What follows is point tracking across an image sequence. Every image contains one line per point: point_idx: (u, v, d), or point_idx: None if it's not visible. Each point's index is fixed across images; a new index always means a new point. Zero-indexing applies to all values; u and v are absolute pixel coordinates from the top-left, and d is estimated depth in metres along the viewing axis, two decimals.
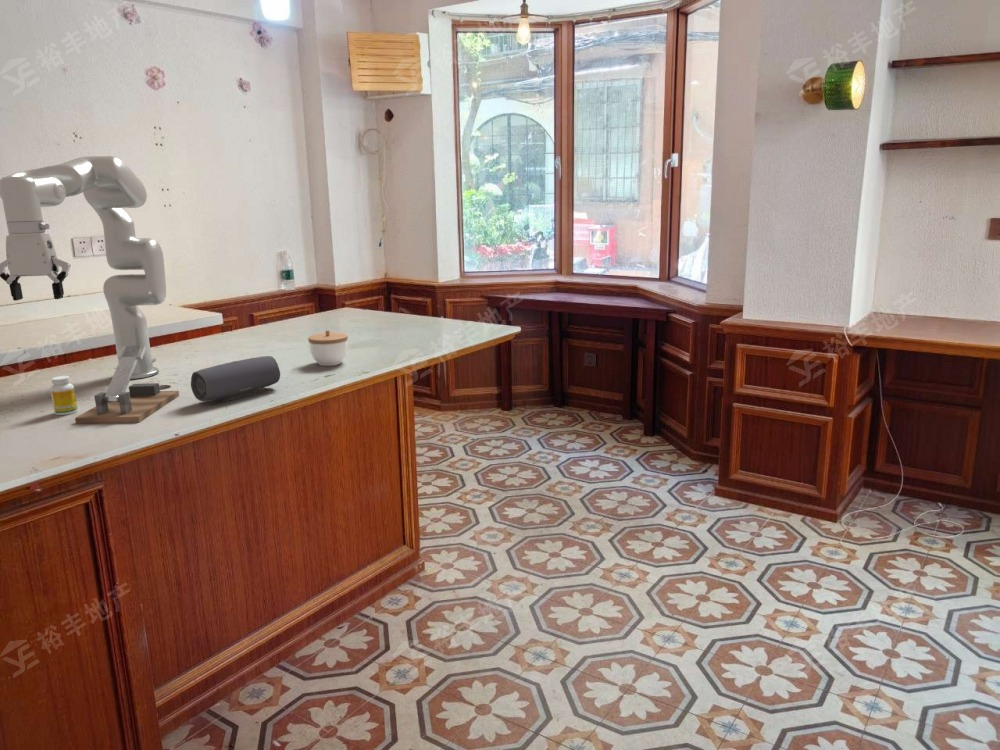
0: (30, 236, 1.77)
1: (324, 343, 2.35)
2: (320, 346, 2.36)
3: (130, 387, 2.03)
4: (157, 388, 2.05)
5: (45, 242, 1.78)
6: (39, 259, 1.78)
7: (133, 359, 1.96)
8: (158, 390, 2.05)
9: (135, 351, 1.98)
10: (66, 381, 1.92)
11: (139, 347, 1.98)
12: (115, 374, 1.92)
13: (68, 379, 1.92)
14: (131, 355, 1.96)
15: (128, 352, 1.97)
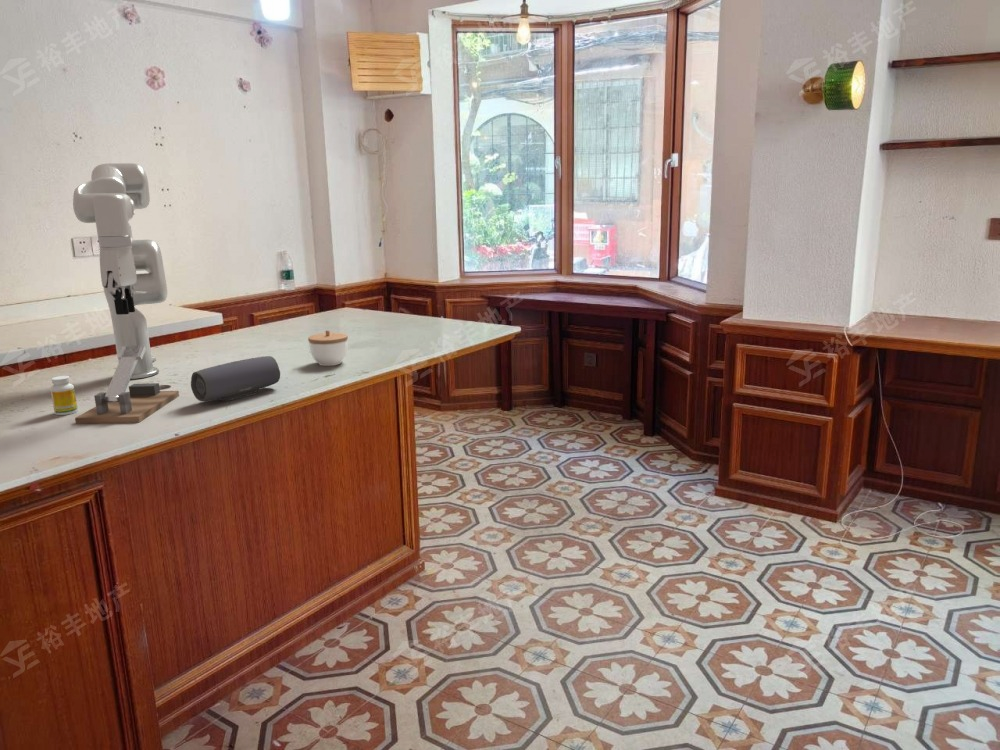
0: (129, 248, 1.93)
1: (324, 343, 2.35)
2: (320, 346, 2.36)
3: (130, 387, 2.03)
4: (157, 388, 2.05)
5: None
6: (133, 269, 1.95)
7: (133, 359, 1.96)
8: (158, 390, 2.05)
9: (135, 351, 1.98)
10: (66, 381, 1.92)
11: (139, 347, 1.98)
12: (115, 374, 1.92)
13: (68, 379, 1.92)
14: (131, 355, 1.96)
15: (128, 352, 1.97)
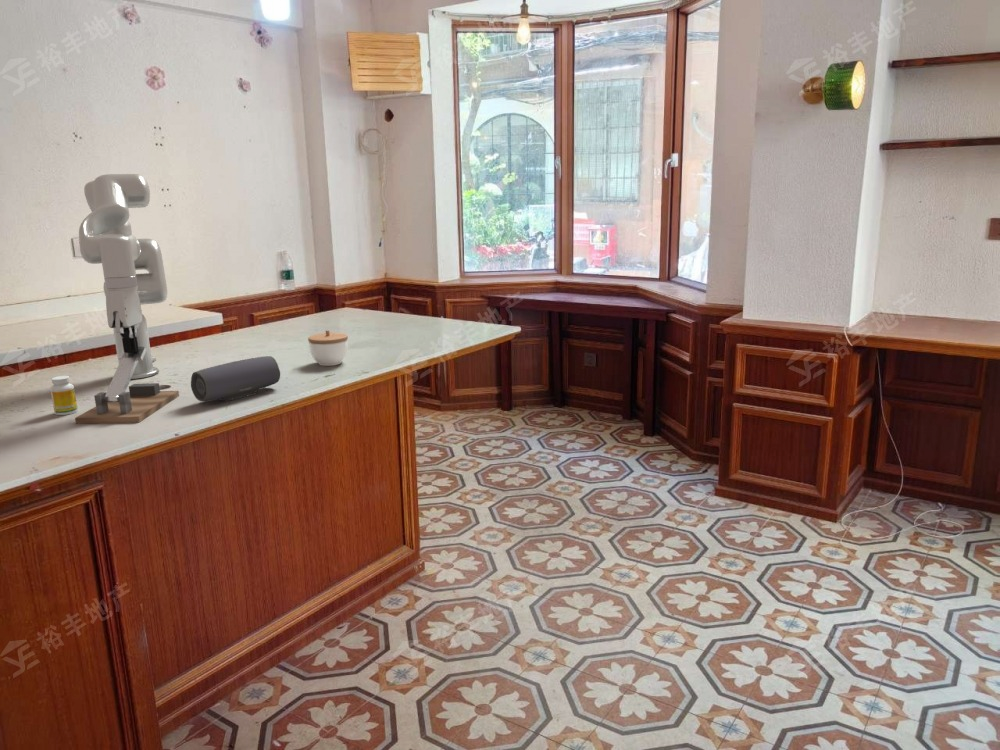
0: (134, 288, 1.95)
1: (324, 343, 2.35)
2: (320, 346, 2.36)
3: (130, 387, 2.03)
4: (157, 388, 2.05)
5: None
6: (139, 308, 1.98)
7: (133, 360, 1.96)
8: (158, 390, 2.05)
9: (135, 352, 1.98)
10: (66, 381, 1.92)
11: (140, 348, 1.99)
12: (115, 374, 1.92)
13: (68, 379, 1.92)
14: (131, 356, 1.97)
15: None
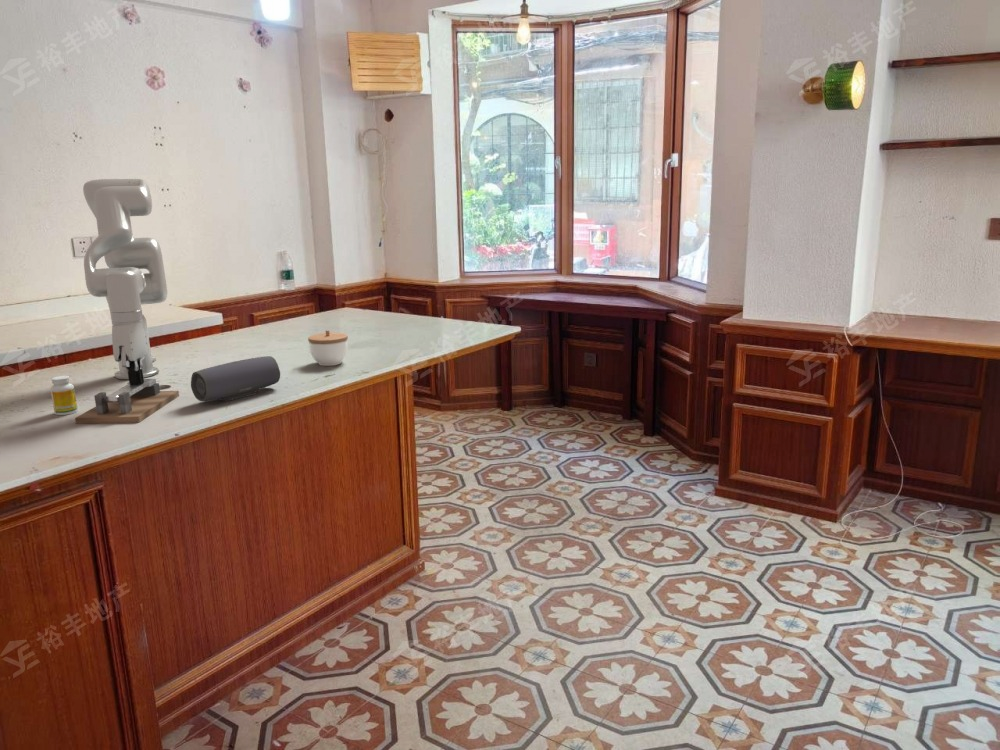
0: None
1: (324, 343, 2.35)
2: (320, 346, 2.36)
3: None
4: (157, 388, 2.05)
5: None
6: (144, 341, 2.00)
7: None
8: (158, 390, 2.05)
9: (145, 380, 2.03)
10: (66, 381, 1.92)
11: (150, 379, 2.04)
12: (121, 388, 1.95)
13: (68, 379, 1.92)
14: None
15: None
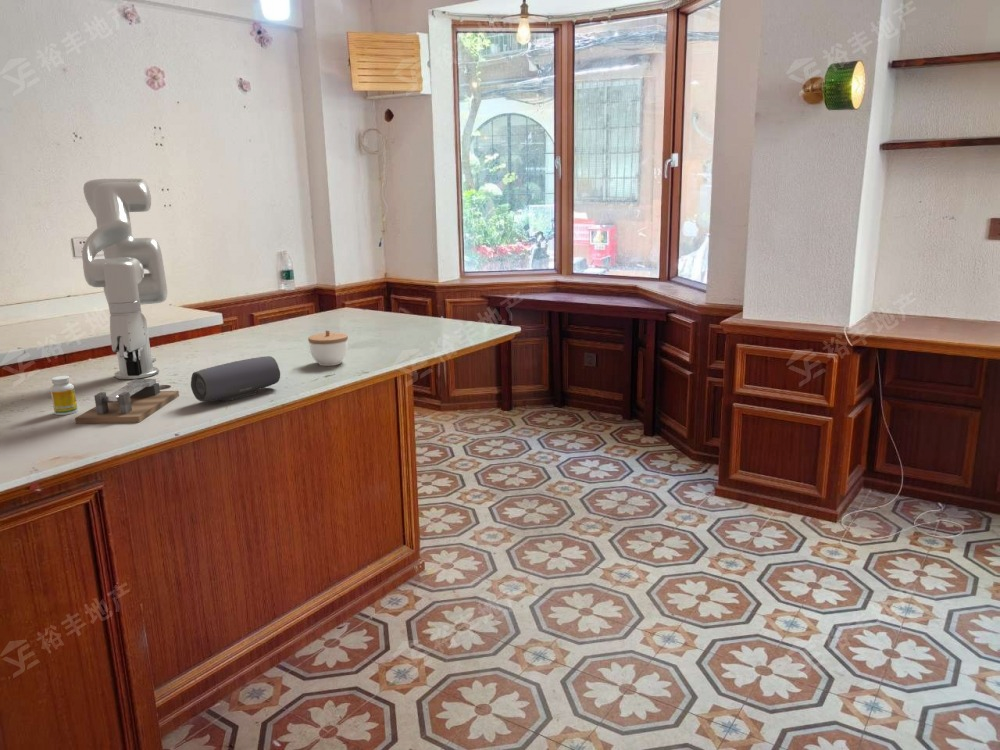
0: (138, 312, 1.97)
1: (324, 343, 2.35)
2: (320, 346, 2.36)
3: None
4: (157, 388, 2.05)
5: None
6: (142, 332, 2.00)
7: (142, 383, 2.00)
8: (158, 390, 2.05)
9: (145, 380, 2.03)
10: (66, 381, 1.92)
11: (150, 379, 2.04)
12: (121, 388, 1.95)
13: (68, 379, 1.92)
14: (140, 382, 2.01)
15: (139, 381, 2.03)
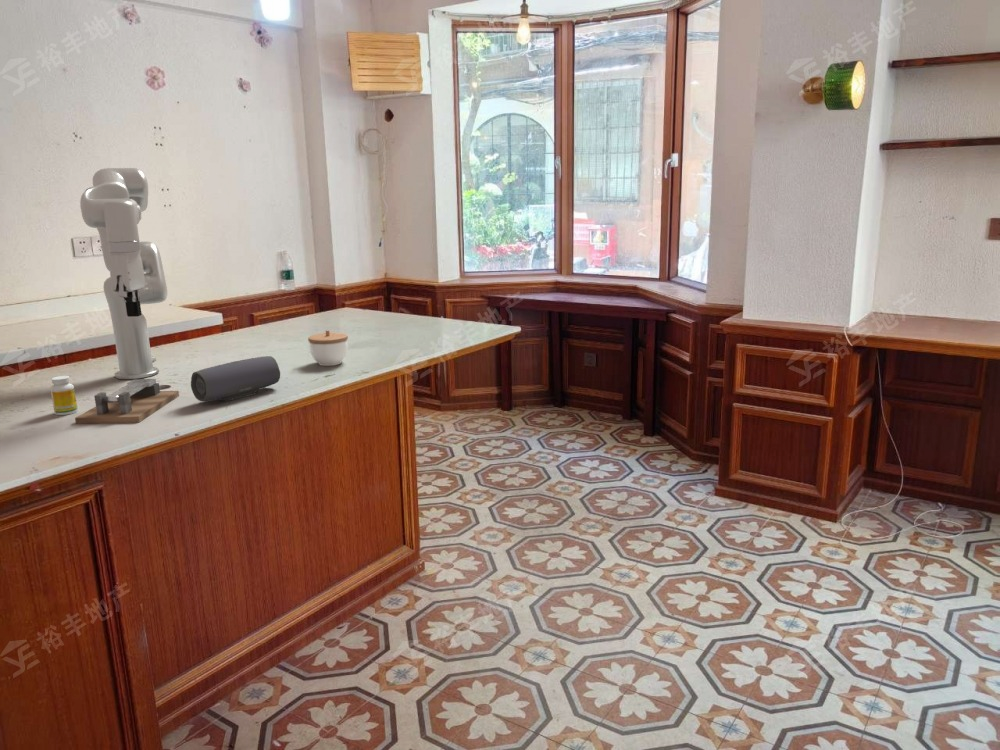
0: (138, 253, 1.98)
1: (324, 343, 2.35)
2: (320, 346, 2.36)
3: None
4: (157, 388, 2.05)
5: None
6: (142, 273, 2.00)
7: (142, 383, 2.00)
8: (158, 390, 2.05)
9: (145, 380, 2.03)
10: (66, 381, 1.92)
11: (150, 379, 2.04)
12: (121, 388, 1.95)
13: (68, 379, 1.92)
14: (140, 382, 2.01)
15: (139, 381, 2.03)
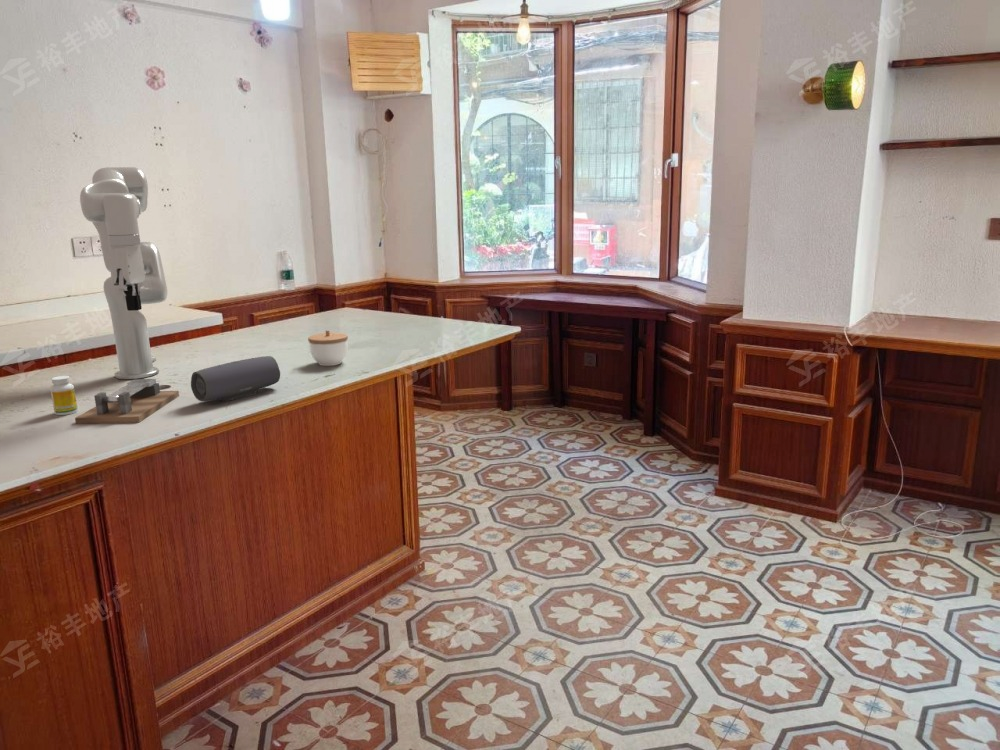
0: (138, 247, 1.98)
1: (324, 343, 2.35)
2: (320, 346, 2.36)
3: None
4: (157, 388, 2.05)
5: None
6: (142, 267, 2.00)
7: (142, 383, 2.00)
8: (158, 390, 2.05)
9: (145, 380, 2.03)
10: (66, 381, 1.92)
11: (150, 379, 2.04)
12: (121, 388, 1.95)
13: (68, 379, 1.92)
14: (140, 382, 2.01)
15: (139, 381, 2.03)
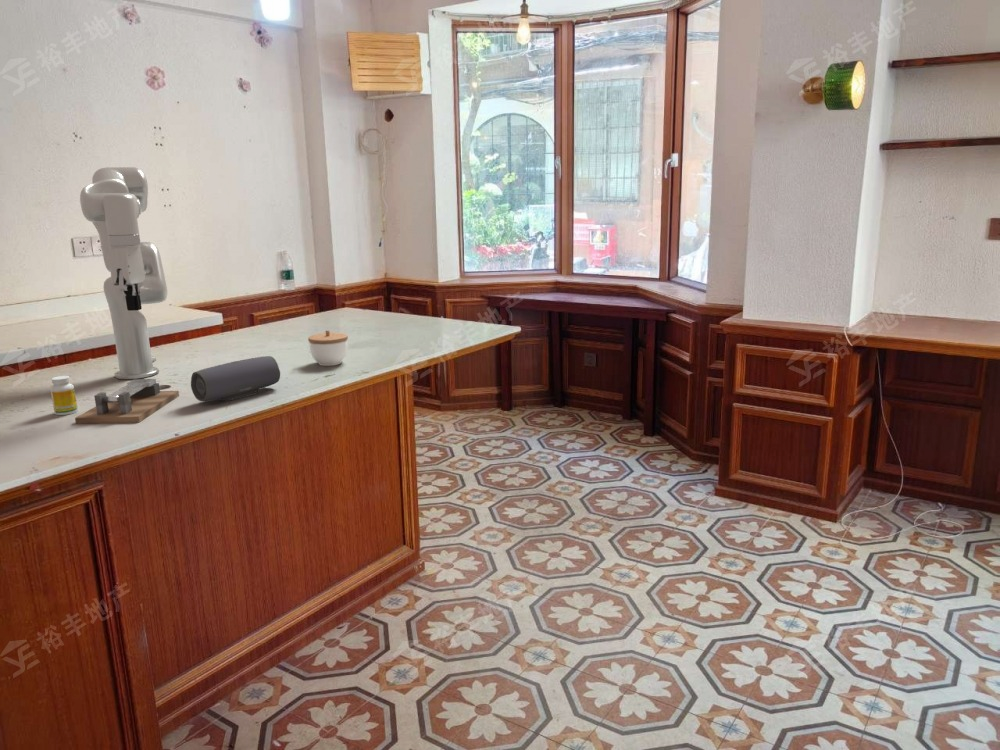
0: (138, 247, 1.98)
1: (324, 343, 2.35)
2: (320, 346, 2.36)
3: None
4: (157, 388, 2.05)
5: None
6: (142, 267, 2.00)
7: (142, 383, 2.00)
8: (158, 390, 2.05)
9: (145, 380, 2.03)
10: (66, 381, 1.92)
11: (150, 379, 2.04)
12: (121, 388, 1.95)
13: (68, 379, 1.92)
14: (140, 382, 2.01)
15: (139, 381, 2.03)
